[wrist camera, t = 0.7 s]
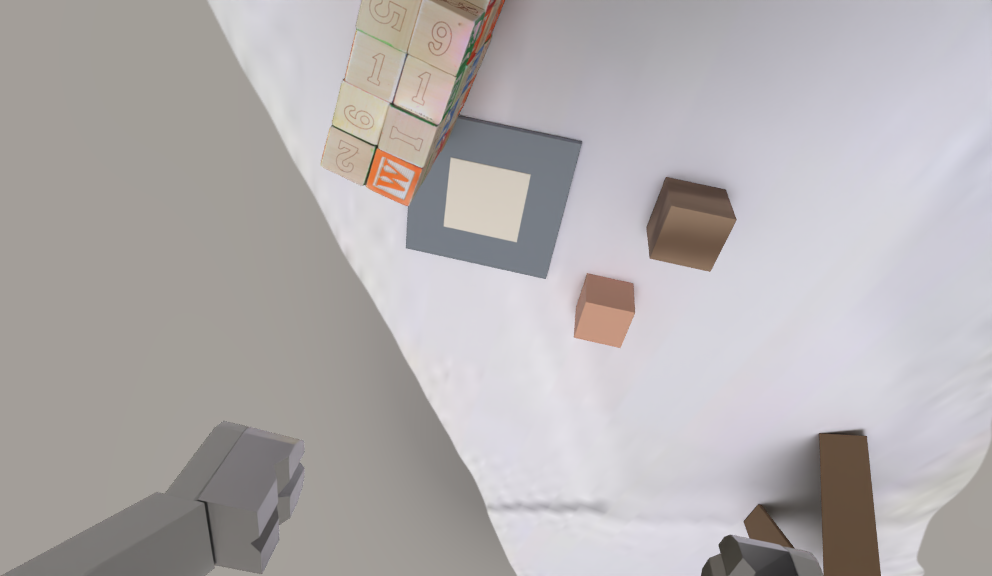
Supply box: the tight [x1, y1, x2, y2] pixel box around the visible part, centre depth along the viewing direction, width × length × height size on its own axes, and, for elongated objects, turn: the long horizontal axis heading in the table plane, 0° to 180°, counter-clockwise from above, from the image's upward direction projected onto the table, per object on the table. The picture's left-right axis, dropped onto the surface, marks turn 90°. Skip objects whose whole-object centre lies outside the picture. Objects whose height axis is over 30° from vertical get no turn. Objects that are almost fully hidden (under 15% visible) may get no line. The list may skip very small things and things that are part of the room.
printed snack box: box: [321, 0, 505, 206], centre depth 34 cm, size 21×6×12 cm, turn 156°
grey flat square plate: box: [406, 115, 582, 279], centre depth 48 cm, size 14×14×1 cm
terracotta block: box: [574, 273, 635, 348], centre depth 52 cm, size 4×4×4 cm
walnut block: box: [647, 177, 737, 272], centre depth 44 cm, size 5×5×5 cm
